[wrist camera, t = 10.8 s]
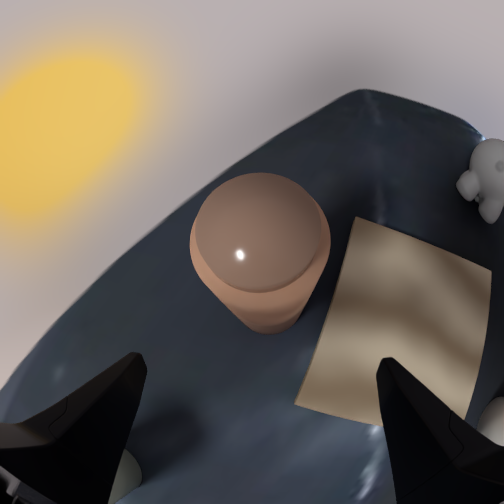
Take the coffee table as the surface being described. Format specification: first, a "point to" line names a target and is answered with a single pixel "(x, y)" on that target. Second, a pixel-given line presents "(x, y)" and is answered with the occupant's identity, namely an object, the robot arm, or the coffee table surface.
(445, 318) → the beige cloth
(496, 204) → the chubby cartoon animal
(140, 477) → the sage jar
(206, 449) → the coffee table surface
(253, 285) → the terracotta jar
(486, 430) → the cream jar
